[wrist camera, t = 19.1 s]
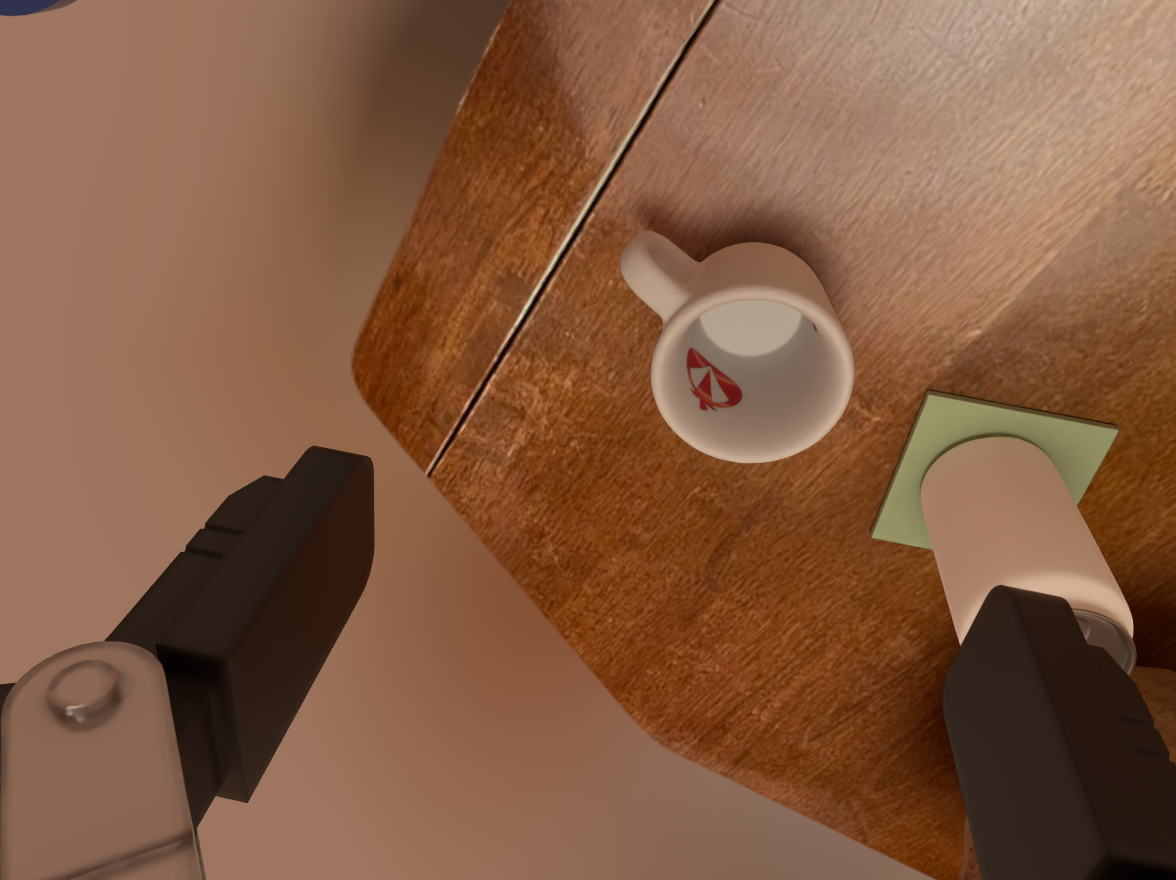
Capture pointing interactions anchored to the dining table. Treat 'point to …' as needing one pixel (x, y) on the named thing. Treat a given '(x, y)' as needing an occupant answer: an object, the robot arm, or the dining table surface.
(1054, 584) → the can
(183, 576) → the robot arm
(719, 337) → the cup
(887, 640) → the dining table surface
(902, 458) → the mat
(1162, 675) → the tan rounded container
